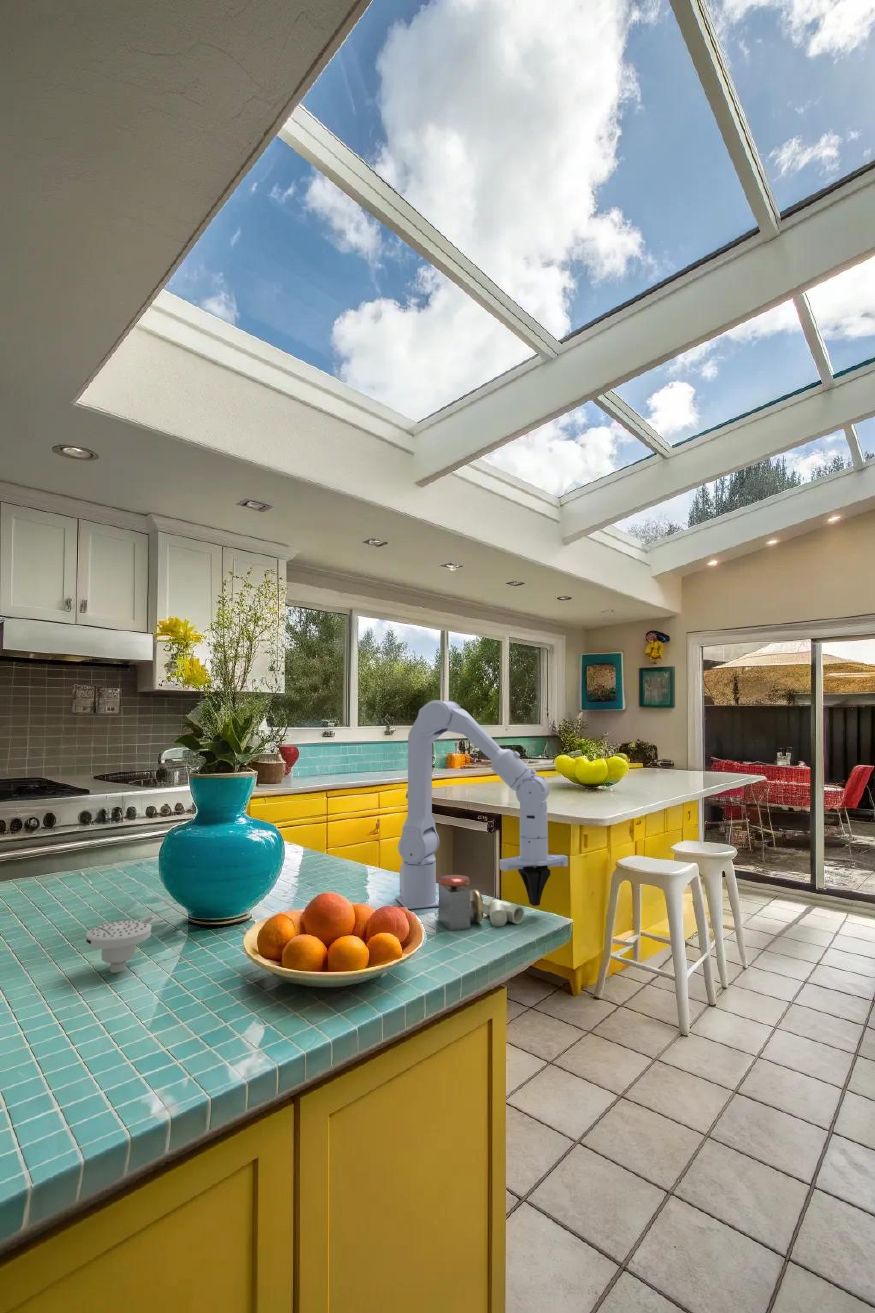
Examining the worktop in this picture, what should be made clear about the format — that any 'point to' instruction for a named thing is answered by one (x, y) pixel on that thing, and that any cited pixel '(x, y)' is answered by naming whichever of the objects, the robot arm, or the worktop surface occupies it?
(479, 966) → the worktop surface
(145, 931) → the showerhead
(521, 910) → the pipe fitting
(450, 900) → the grey block with discs
